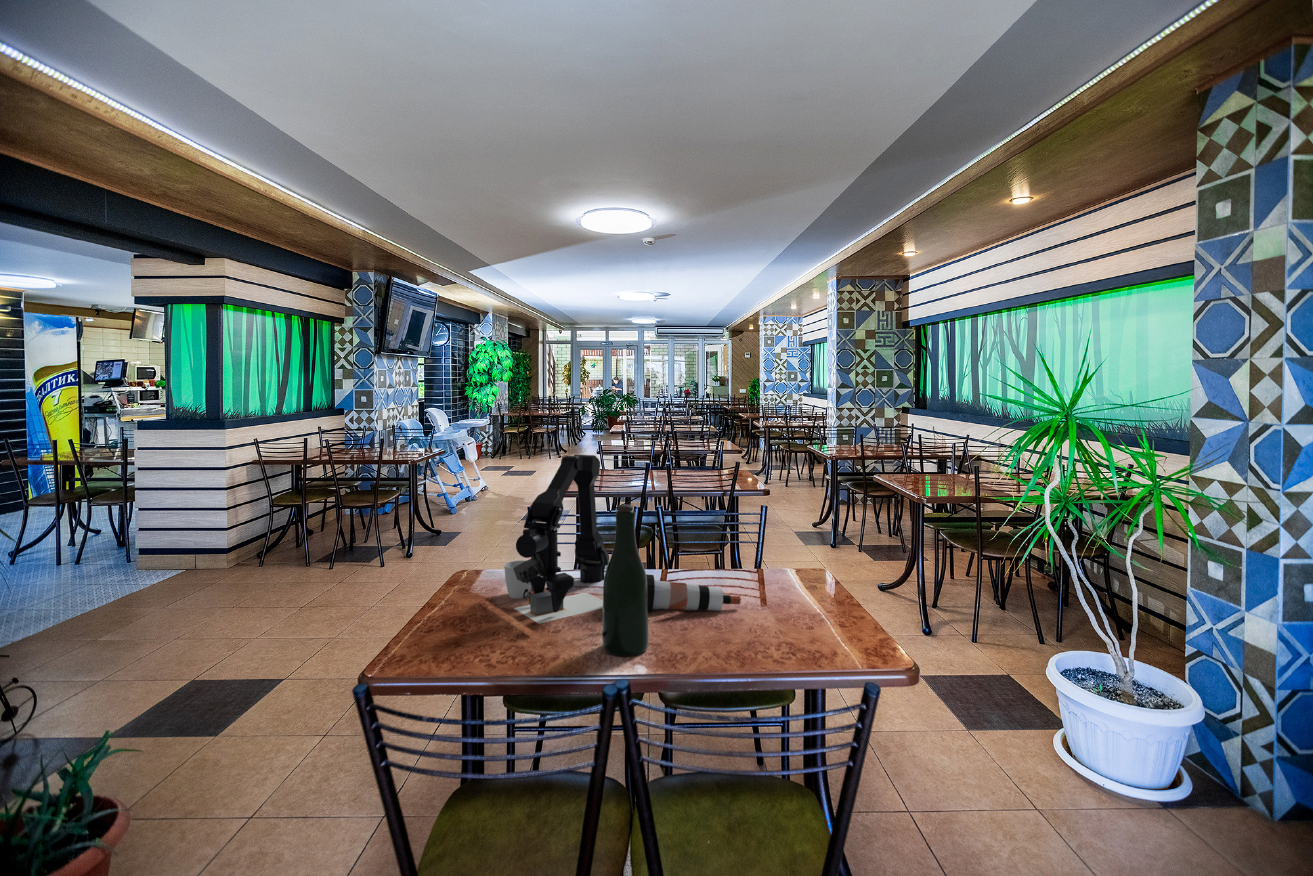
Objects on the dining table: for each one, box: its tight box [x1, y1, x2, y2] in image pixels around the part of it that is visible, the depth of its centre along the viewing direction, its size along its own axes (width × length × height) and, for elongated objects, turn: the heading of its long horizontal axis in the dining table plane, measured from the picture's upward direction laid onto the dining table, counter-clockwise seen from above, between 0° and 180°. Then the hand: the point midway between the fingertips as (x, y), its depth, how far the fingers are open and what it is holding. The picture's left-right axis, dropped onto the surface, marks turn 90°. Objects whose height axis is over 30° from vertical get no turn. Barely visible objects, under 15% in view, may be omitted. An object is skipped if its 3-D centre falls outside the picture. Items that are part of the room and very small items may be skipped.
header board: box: [513, 592, 603, 625], centre depth 173 cm, size 22×14×4 cm, turn 127°
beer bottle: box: [601, 503, 649, 657], centre depth 147 cm, size 10×10×33 cm
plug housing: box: [529, 590, 563, 616], centre depth 170 cm, size 8×3×4 cm, turn 127°
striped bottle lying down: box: [646, 573, 741, 614], centre depth 173 cm, size 10×34×10 cm, turn 97°
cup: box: [503, 559, 533, 600], centre depth 182 cm, size 8×8×10 cm
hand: (547, 607), depth 170 cm, fingers open, 9 cm apart
